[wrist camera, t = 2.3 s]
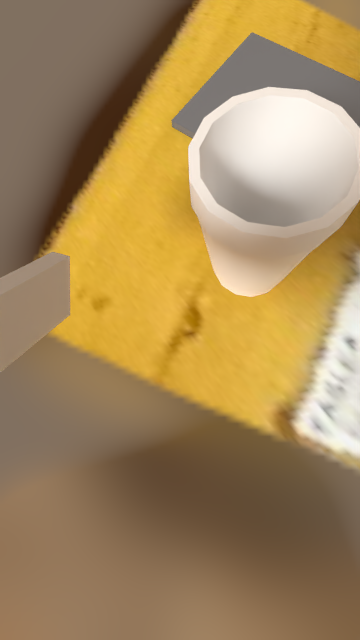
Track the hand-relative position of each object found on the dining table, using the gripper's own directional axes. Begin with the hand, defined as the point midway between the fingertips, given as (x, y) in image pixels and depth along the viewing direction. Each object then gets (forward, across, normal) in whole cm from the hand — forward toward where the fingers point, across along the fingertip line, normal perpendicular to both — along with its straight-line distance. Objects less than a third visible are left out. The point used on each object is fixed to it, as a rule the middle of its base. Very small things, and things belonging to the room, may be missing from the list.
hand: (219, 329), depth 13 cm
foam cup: (+18, 0, -4) cm, 19 cm away
